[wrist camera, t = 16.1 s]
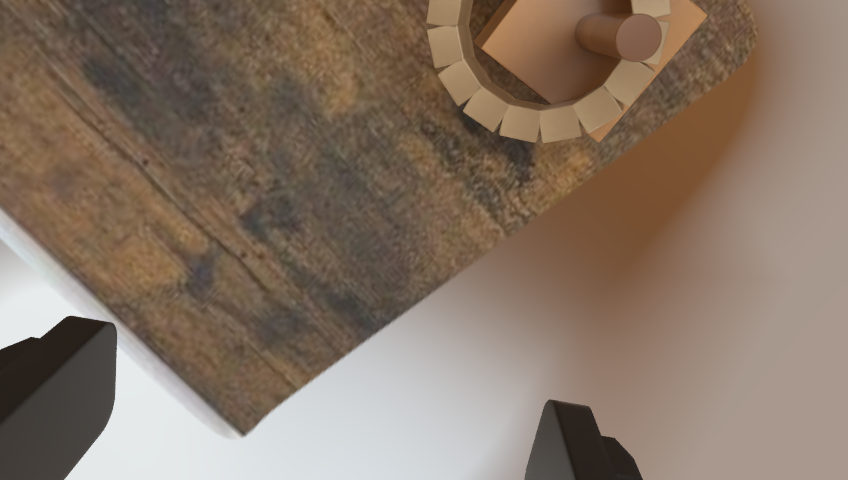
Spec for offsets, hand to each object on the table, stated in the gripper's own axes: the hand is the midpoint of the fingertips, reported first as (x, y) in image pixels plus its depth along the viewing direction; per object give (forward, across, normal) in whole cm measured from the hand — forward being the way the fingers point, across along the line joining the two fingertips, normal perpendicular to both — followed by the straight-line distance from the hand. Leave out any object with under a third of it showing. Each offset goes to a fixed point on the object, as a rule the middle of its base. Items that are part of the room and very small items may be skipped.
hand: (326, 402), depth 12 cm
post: (+32, -9, -7) cm, 34 cm away
